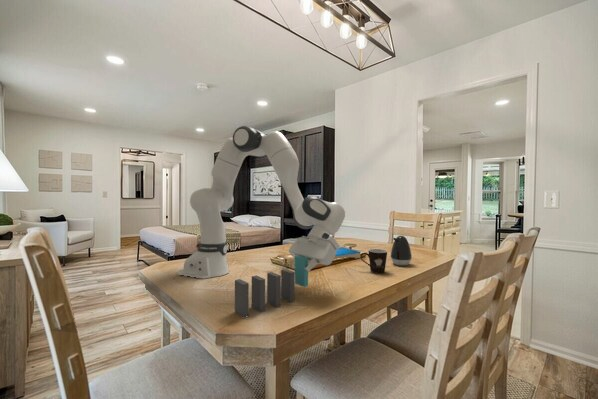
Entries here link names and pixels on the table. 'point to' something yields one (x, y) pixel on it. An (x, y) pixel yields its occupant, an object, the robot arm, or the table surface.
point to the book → (346, 253)
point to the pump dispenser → (401, 251)
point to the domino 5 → (301, 271)
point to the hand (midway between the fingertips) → (300, 268)
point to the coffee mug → (376, 260)
